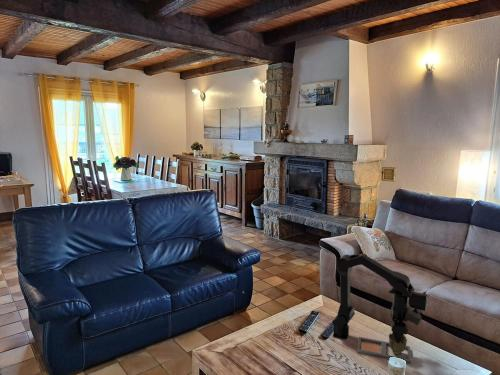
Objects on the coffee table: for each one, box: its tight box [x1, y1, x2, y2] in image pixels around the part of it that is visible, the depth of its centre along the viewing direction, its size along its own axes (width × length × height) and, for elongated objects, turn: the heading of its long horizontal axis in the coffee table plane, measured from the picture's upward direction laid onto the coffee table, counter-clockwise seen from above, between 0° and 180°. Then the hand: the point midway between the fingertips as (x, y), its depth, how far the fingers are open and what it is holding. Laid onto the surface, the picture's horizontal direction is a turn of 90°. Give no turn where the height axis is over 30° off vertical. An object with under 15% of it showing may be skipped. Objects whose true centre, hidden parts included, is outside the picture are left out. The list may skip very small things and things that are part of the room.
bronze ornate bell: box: [388, 332, 408, 356], centre depth 156 cm, size 8×7×8 cm
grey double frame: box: [356, 336, 412, 364], centre depth 158 cm, size 22×11×1 cm, turn 69°
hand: (397, 337), depth 155 cm, fingers open, 9 cm apart
